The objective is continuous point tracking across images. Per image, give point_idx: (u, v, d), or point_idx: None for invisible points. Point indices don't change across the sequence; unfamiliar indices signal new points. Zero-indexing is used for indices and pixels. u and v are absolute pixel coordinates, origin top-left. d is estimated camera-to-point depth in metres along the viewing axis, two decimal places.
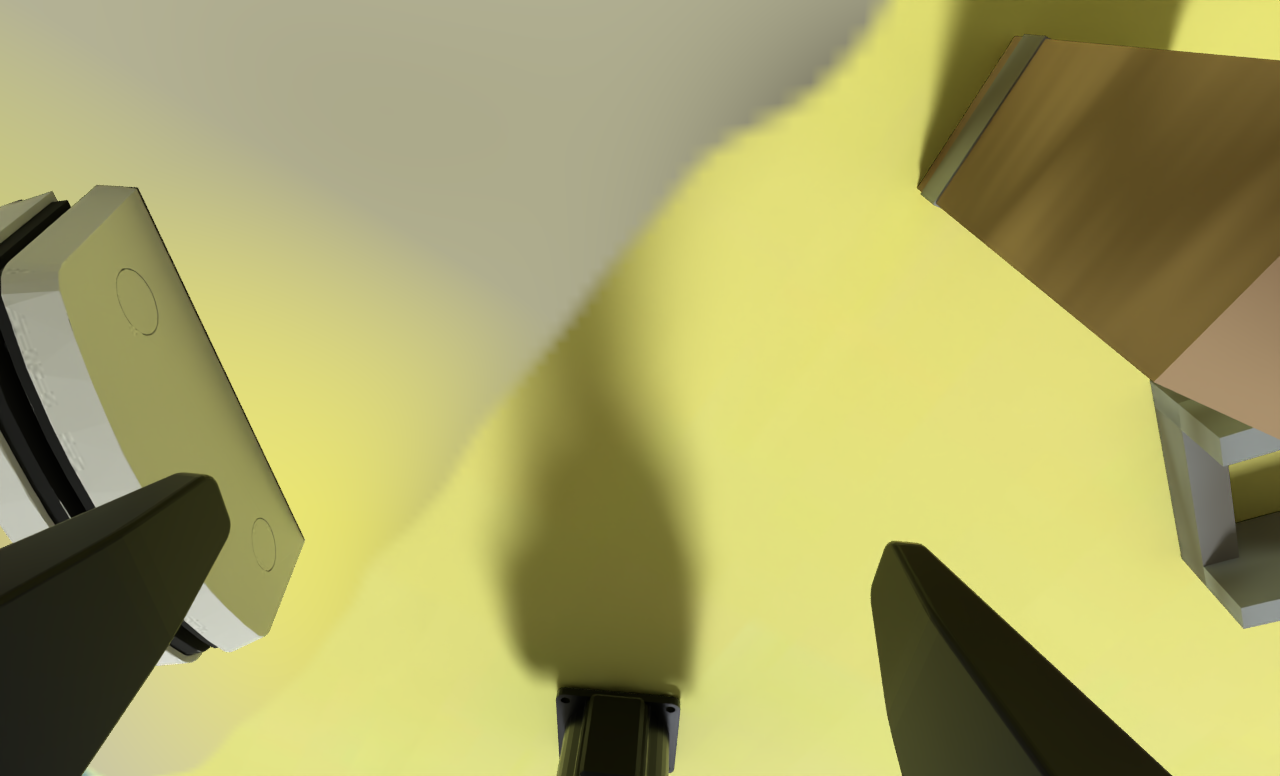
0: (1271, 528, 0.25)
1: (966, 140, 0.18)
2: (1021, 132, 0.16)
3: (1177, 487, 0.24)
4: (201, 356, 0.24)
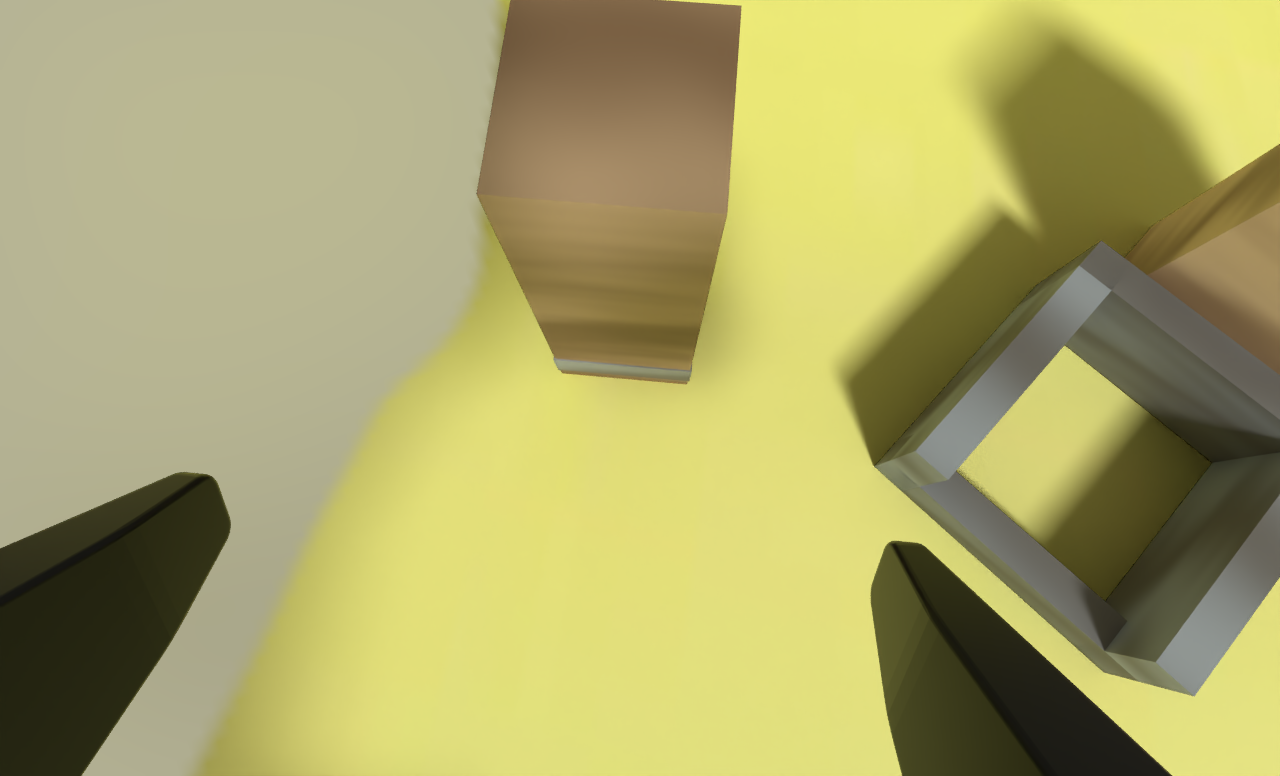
0: (1136, 580, 0.21)
1: None
2: None
3: (995, 566, 0.21)
4: None
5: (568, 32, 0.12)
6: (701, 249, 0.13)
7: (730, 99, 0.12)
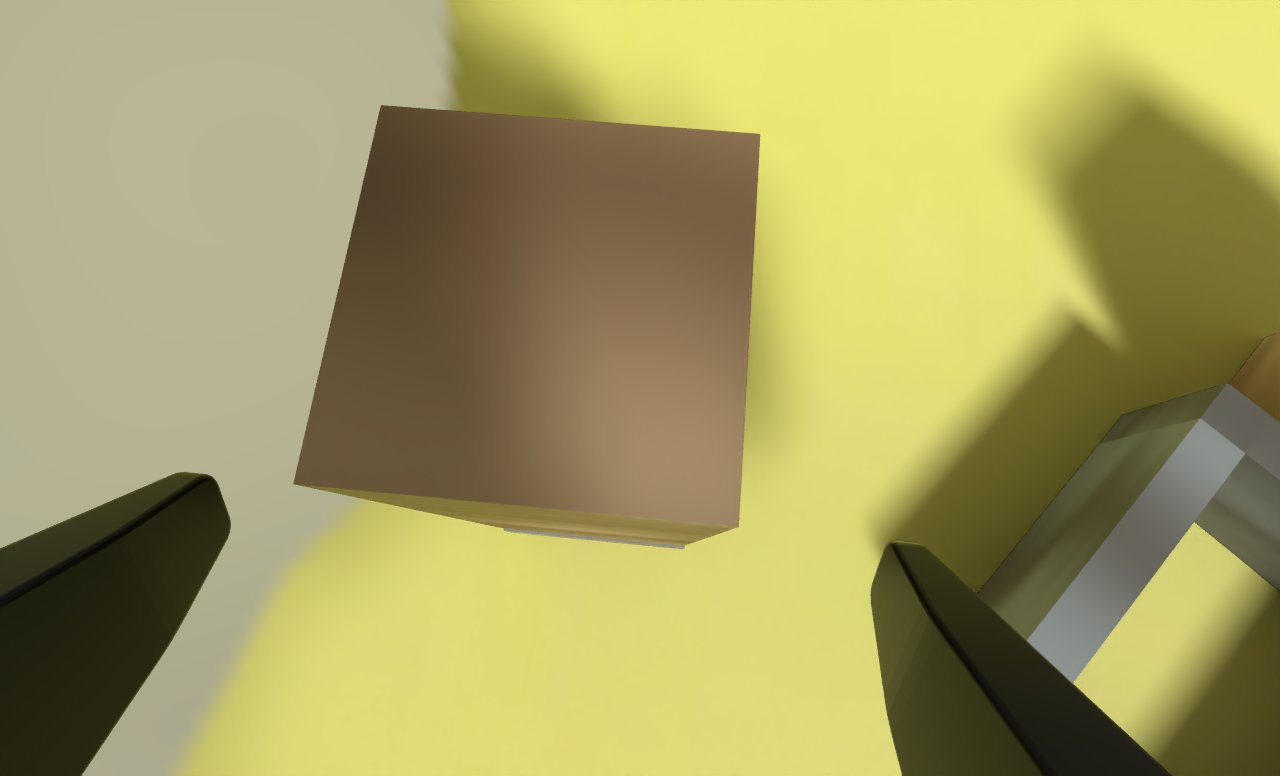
0: None
1: None
2: None
3: None
4: None
5: (470, 180, 0.07)
6: (694, 529, 0.08)
7: (743, 302, 0.07)
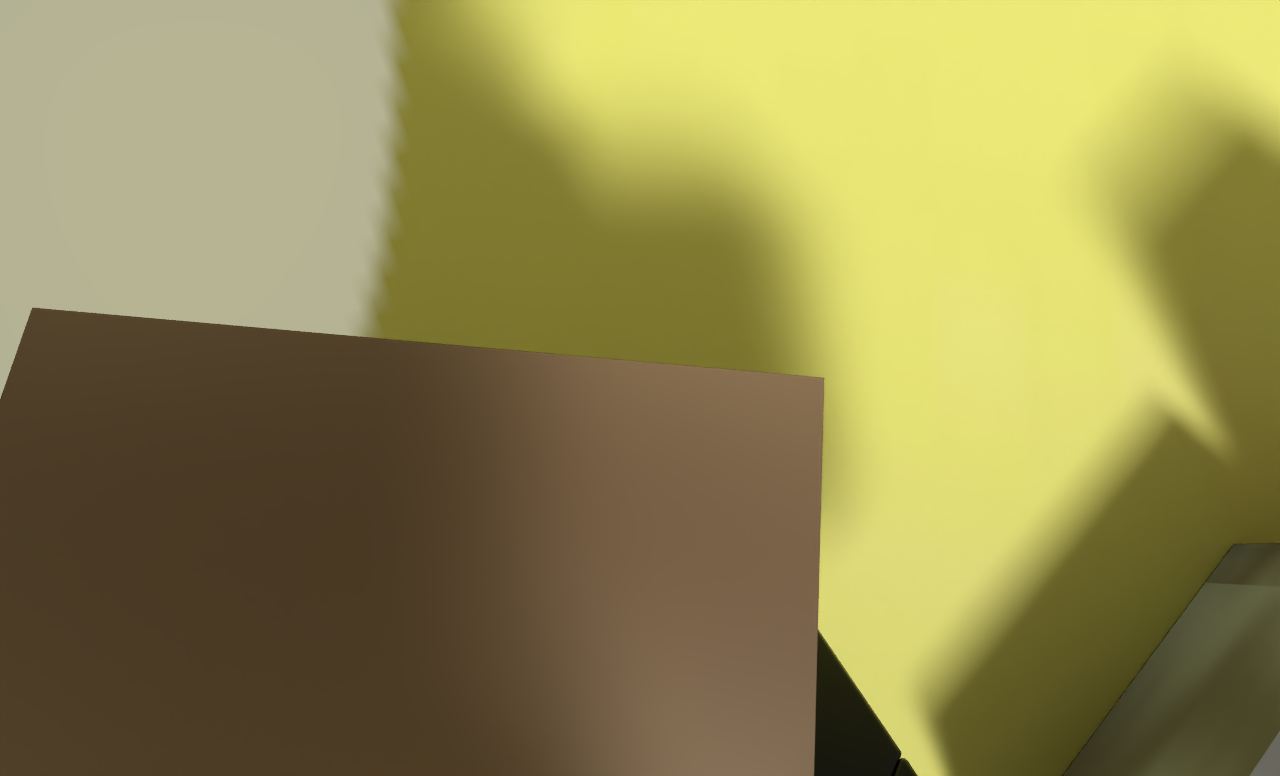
0: None
1: None
2: None
3: None
4: None
5: (197, 487, 0.03)
6: None
7: None
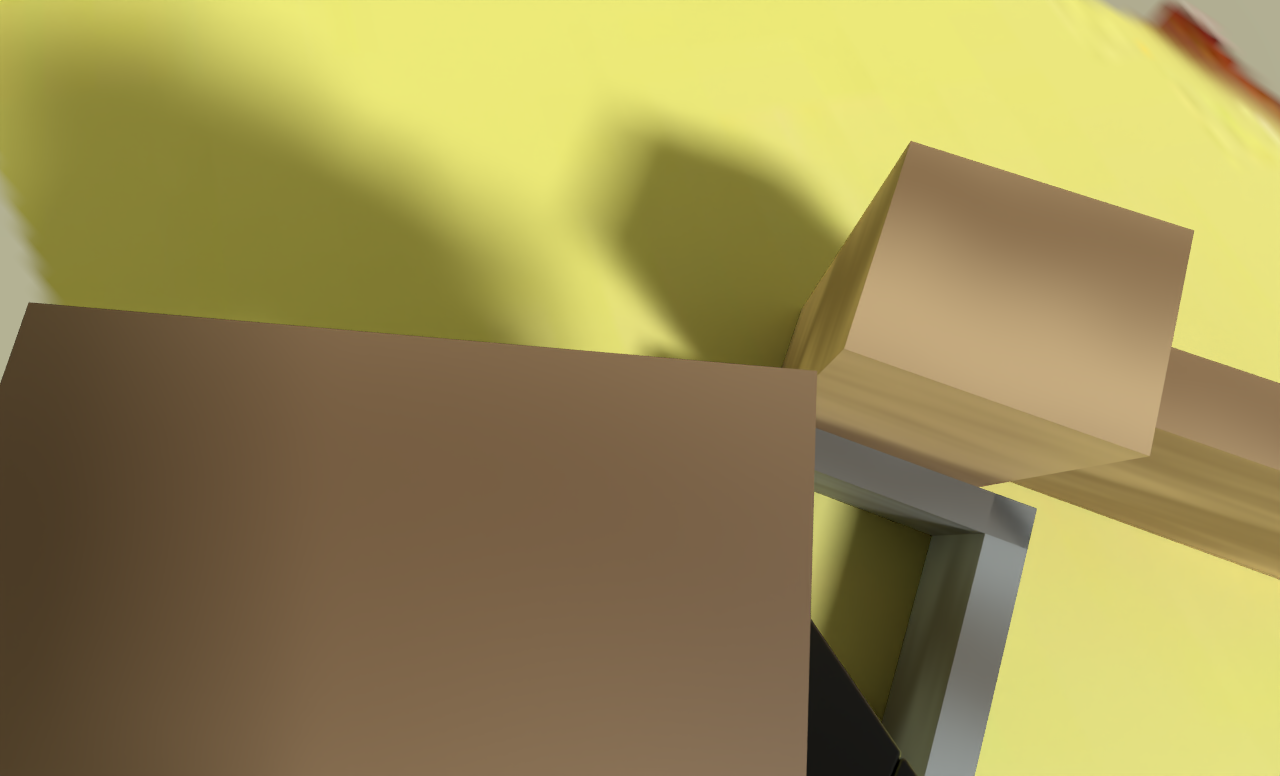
0: (895, 703, 0.20)
1: None
2: None
3: None
4: None
5: (193, 480, 0.03)
6: None
7: None
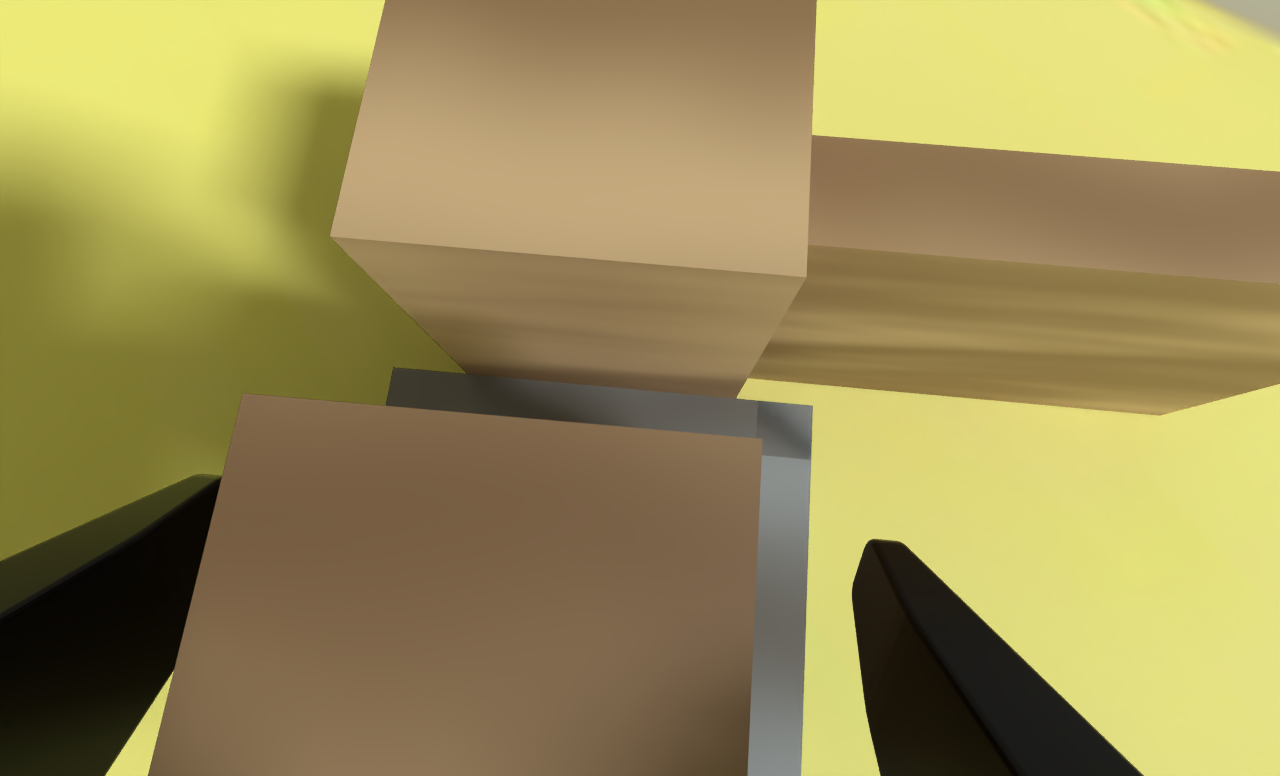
0: None
1: None
2: None
3: None
4: None
5: (360, 512, 0.05)
6: None
7: (739, 710, 0.05)
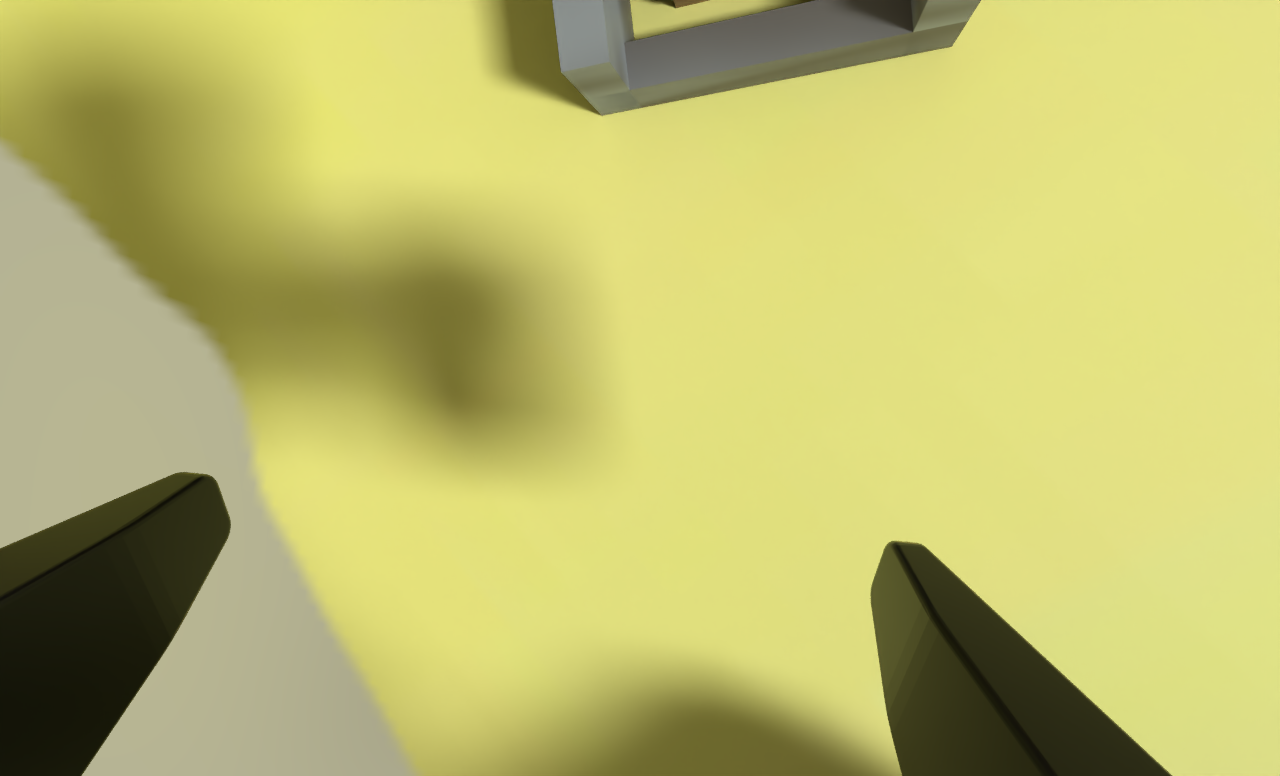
0: None
1: None
2: None
3: (766, 74, 0.17)
4: None
5: None
6: None
7: None
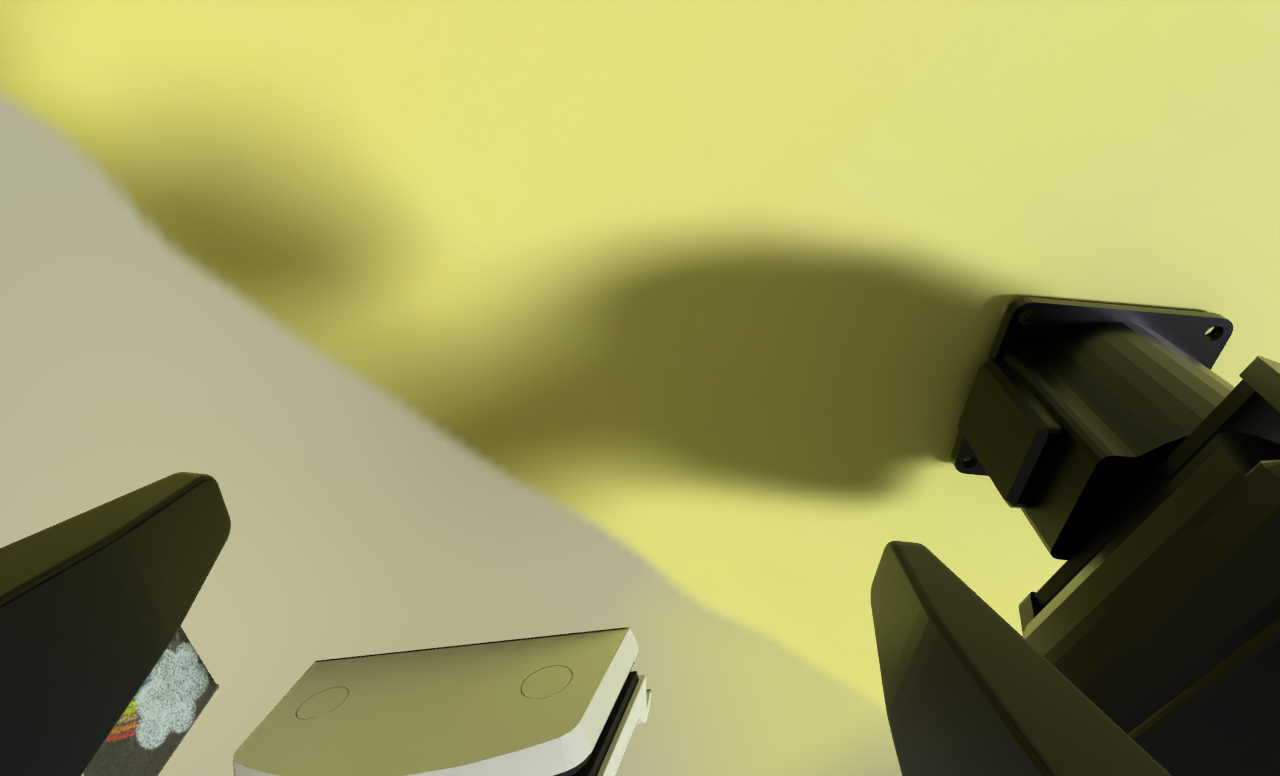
0: None
1: None
2: None
3: None
4: (411, 664, 0.30)
5: None
6: None
7: None
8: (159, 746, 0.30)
